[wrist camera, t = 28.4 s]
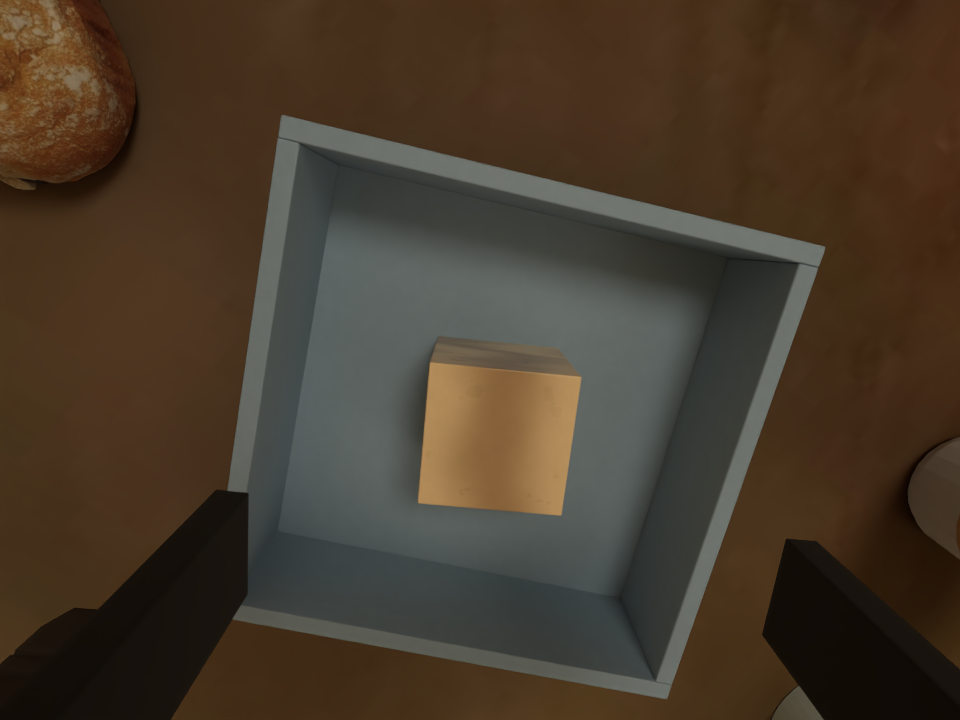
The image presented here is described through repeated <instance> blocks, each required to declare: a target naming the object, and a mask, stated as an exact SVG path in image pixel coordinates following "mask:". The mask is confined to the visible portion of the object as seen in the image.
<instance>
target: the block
mask: <svg viewBox="0 0 960 720" xmlns="http://www.w3.org/2000/svg"><path fill="white" fill-rule="evenodd" d="M580 385H581V376H580V375H579V373H578V372H577V371H576V370H575V368H574V367H573V366H572V365H571V363H570V362H569V361H568V360H567V359H566V357H565V356H564V355H563V354H562V352H561V351H560V350H559V349H558V348H555V347H545V346H535V345H524V344H514V343H504V342H494V341H484V340H474V339H464V338H453V337H443V336H438V339H437V342H436V345H435V348H434V351H433V354H432V357H431V360H430V364H429V375H428V387H427V399H426V410H425V422H424V434H423V445H422V457H421V469H420V480H419V492H418V503H420V504H432V505H443V506H455V507H466V508H478V509H489V510H501V511H512V512H524V513H535V514H547V515H558V516H561V515H562V508H563V501H564V495H565V488H566V481H567V474H568V467H569V460H570V454H571V447H572V440H573V433H574V426H575V419H576V412H577V406H578V399H579V392H580Z"/></svg>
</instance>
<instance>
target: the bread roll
mask: <svg viewBox="0 0 960 720" xmlns="http://www.w3.org/2000/svg"><path fill="white" fill-rule="evenodd" d="M135 103H136V100H135V80H134V77H133V74H132V72H131V70H130V66H129V62H128V59H127V58H126V56H125V55H124V53H123V50H122V46H121V43H120V41H119V39H118V37H117V35H116V33H115V31H114V29H113V27H112V25H111V24H110V21H109V19H108V17H107V15H106V13H105V11H104V10H103V8H102V6H101V4H100V2H99V0H0V180H1V181H3V182H4V183H6V184H8V185H10V186H12V187H15V188H18V189H22V190H35V189H36V184H41V183H49V182H50V183H62V182H67V181H71V182H73V181H78V180H79V179H81V178H83V177H85V176H87V175H89V174H92V173H94V172H96V171H98V170H100V169H102V168H103V167H105V166H106V165H108V164H109V163H110V162H111V161H112V159H113V158H114V157H115V156H116V155H117V153H118V152H119V151H120V149H121V147H122V146H123V144H124V142H125V140H126V138H127V135H128V133H129V130H130V127H131V123H132V119H133V114H134V109H135Z"/></svg>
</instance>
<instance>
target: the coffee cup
mask: <svg viewBox="0 0 960 720" xmlns="http://www.w3.org/2000/svg"><path fill="white" fill-rule="evenodd" d="M908 503H909V506H910V509H911V512H912V514H913V516H914V517H915V520H916V523H917V524H918V525H919V527H920V528H921V529H922V531H923V532H924V533H925V534H926V535H928V536H929V537H930V538H932V539H933V540H934V541H936V542H937V543H938V544H940V545H941V546H942V547H944V548H945V549H946V550H948V551H949V552H950V553H952V554H953V555H954V556H956V557H957V558H958V559H960V438H955V439H952V440H950V441H947V442H945V443H943V444H940V445H939V446H937V447H936V448H935V449H933V450H932V451H931V452H929V453H928V454H927V455H926V456H925V457H924V458H923V459H922V461H921V462H920V463H919V464H918V465H917V467H916V469H915V471H914V473H913V474H912V476H911V480H910V484H909V487H908Z"/></svg>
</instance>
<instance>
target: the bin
mask: <svg viewBox="0 0 960 720" xmlns="http://www.w3.org/2000/svg"><path fill="white" fill-rule="evenodd" d="M278 136H279V138H278V140H277V147H276V154H275V161H274V168H273V175H272V182H271V189H270V196H269V203H268V210H267V217H266V223H265V230H264V237H263V244H262V251H261V258H260V265H259V272H258V279H257V286H256V293H255V300H254V307H253V314H252V321H251V328H250V335H249V342H248V349H247V356H246V363H245V370H244V377H243V384H242V391H241V398H240V405H239V412H238V419H237V426H236V433H235V440H234V447H233V454H232V461H231V468H230V475H229V482H228V489H227V491H234V492H246V493H249V515H248V595H247V596H246V598H245V599H244V601H243V603H242V604H241V606H240V608H239V609H238V611H237V612H236V614H235V616H234V617H233V619H232V620H238V621H243V622H249V623H254V624H259V625H265V626H270V627H276V628H281V629H287V630H292V631H298V632H303V633H308V634H314V635H319V636H325V637H330V638H336V639H341V640H347V641H352V642H357V643H363V644H368V645H374V646H379V647H385V648H390V649H396V650H401V651H407V652H412V653H417V654H423V655H428V656H434V657H439V658H445V659H450V660H456V661H461V662H466V663H472V664H477V665H483V666H488V667H494V668H499V669H505V670H510V671H515V672H521V673H526V674H532V675H537V676H543V677H548V678H554V679H559V680H564V681H570V682H575V683H581V684H586V685H592V686H597V687H603V688H608V689H614V690H619V691H624V692H630V693H635V694H641V695H646V696H652V697H657V698H663V699H667V697H668V694H669V691H670V689H671V684H672V682H673V679H674V677H675V674H676V671H677V668H678V665H679V662H680V660H681V657H682V654H683V651H684V648H685V645H686V643H687V640H688V637H689V634H690V631H691V628H692V626H693V623H694V620H695V617H696V614H697V611H698V608H699V606H700V603H701V600H702V597H703V594H704V591H705V589H706V586H707V583H708V580H709V577H710V574H711V572H712V569H713V566H714V563H715V560H716V557H717V554H718V552H719V549H720V546H721V543H722V540H723V537H724V535H725V532H726V529H727V526H728V523H729V520H730V518H731V515H732V512H733V509H734V506H735V503H736V500H737V498H738V495H739V492H740V489H741V486H742V483H743V481H744V478H745V475H746V472H747V469H748V466H749V464H750V461H751V458H752V455H753V452H754V449H755V446H756V444H757V441H758V438H759V435H760V432H761V429H762V427H763V424H764V421H765V418H766V415H767V412H768V410H769V407H770V404H771V401H772V398H773V395H774V392H775V390H776V387H777V384H778V381H779V378H780V375H781V373H782V370H783V367H784V364H785V361H786V358H787V356H788V353H789V350H790V347H791V344H792V341H793V338H794V336H795V333H796V330H797V327H798V324H799V321H800V319H801V316H802V313H803V310H804V307H805V304H806V302H807V299H808V296H809V293H810V290H811V287H812V285H813V282H814V279H815V276H816V273H817V270H818V268H817V267H818V266H819V265H820V262H821V259H822V256H823V253H824V251H825V247H824V246H821V245H817V244H812V243H808V242H804V241H800V240H796V239H792V238H788V237H784V236H780V235H775V234H771V233H767V232H763V231H759V230H755V229H751V228H747V227H742V226H738V225H734V224H730V223H726V222H722V221H718V220H714V219H710V218H705V217H701V216H697V215H693V214H689V213H685V212H681V211H677V210H672V209H668V208H664V207H660V206H656V205H652V204H648V203H644V202H640V201H635V200H631V199H627V198H623V197H619V196H615V195H611V194H607V193H603V192H598V191H594V190H590V189H586V188H582V187H578V186H574V185H570V184H565V183H561V182H557V181H553V180H549V179H545V178H541V177H537V176H533V175H528V174H524V173H520V172H516V171H512V170H508V169H504V168H500V167H495V166H491V165H487V164H483V163H479V162H475V161H471V160H467V159H463V158H458V157H454V156H450V155H446V154H442V153H438V152H434V151H430V150H425V149H421V148H417V147H413V146H409V145H405V144H401V143H397V142H393V141H388V140H384V139H380V138H376V137H372V136H368V135H364V134H360V133H355V132H351V131H347V130H343V129H339V128H335V127H331V126H327V125H323V124H318V123H314V122H310V121H306V120H302V119H298V118H294V117H290V116H285V115H282V116H281V121H280V128H279V135H278ZM438 336H443V337H453V338H464V339H474V340H484V341H494V342H504V343H514V344H524V345H535V346H545V347H555V348H558V349H559V350H560V351H561V352H562V354H563V355H564V356H565V357H566V359H567V360H568V361H569V362H570V363H571V365H572V366H573V367H574V368H575V370H576V371H577V372H578V373H579V375H580V376H581V385H580V392H579V399H578V406H577V412H576V419H575V426H574V433H573V440H572V447H571V454H570V460H569V467H568V474H567V481H566V488H565V495H564V501H563V508H562V515H561V516H558V515H547V514H535V513H524V512H512V511H501V510H489V509H478V508H466V507H455V506H443V505H432V504H420V503H418V492H419V480H420V469H421V457H422V445H423V434H424V422H425V410H426V399H427V387H428V375H429V364H430V360H431V357H432V354H433V351H434V348H435V345H436V342H437V339H438Z"/></svg>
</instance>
